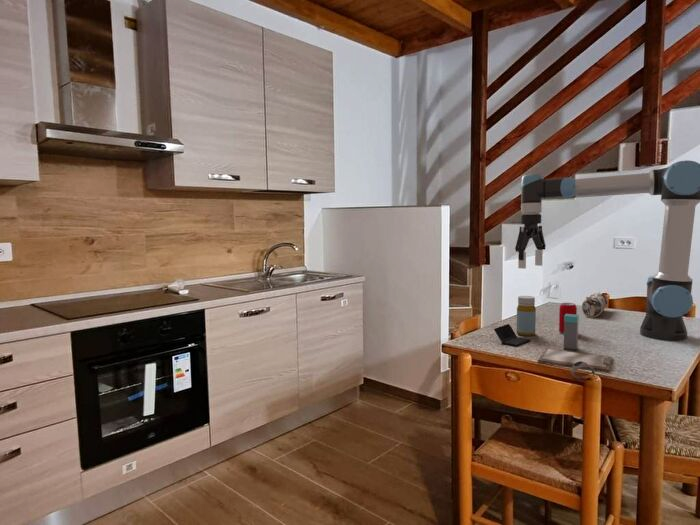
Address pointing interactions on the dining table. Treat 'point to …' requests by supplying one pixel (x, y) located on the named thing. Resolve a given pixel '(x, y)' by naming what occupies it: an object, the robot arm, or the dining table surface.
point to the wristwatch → (578, 366)
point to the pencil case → (594, 305)
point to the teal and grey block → (571, 332)
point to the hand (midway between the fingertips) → (530, 267)
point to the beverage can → (565, 309)
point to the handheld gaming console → (509, 336)
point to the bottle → (526, 316)
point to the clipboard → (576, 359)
